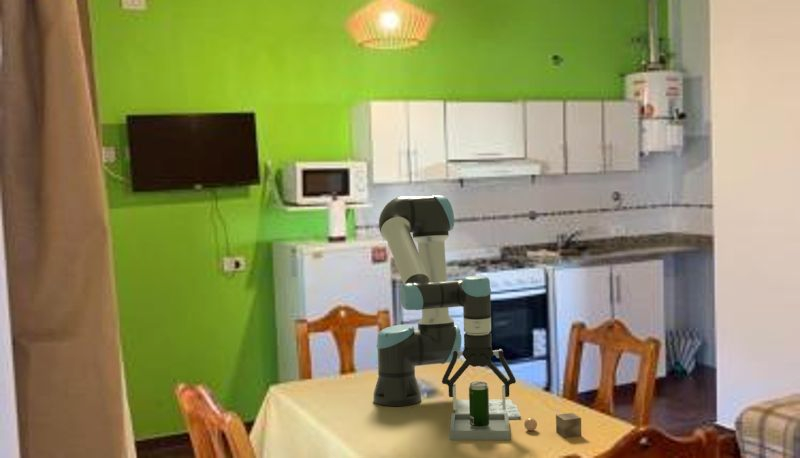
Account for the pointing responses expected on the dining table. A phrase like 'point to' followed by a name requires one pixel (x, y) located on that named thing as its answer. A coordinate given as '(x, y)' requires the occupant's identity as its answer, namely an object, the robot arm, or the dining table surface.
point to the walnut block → (568, 425)
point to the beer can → (479, 405)
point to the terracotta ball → (530, 424)
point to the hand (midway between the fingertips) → (479, 408)
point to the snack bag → (491, 407)
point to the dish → (464, 431)
